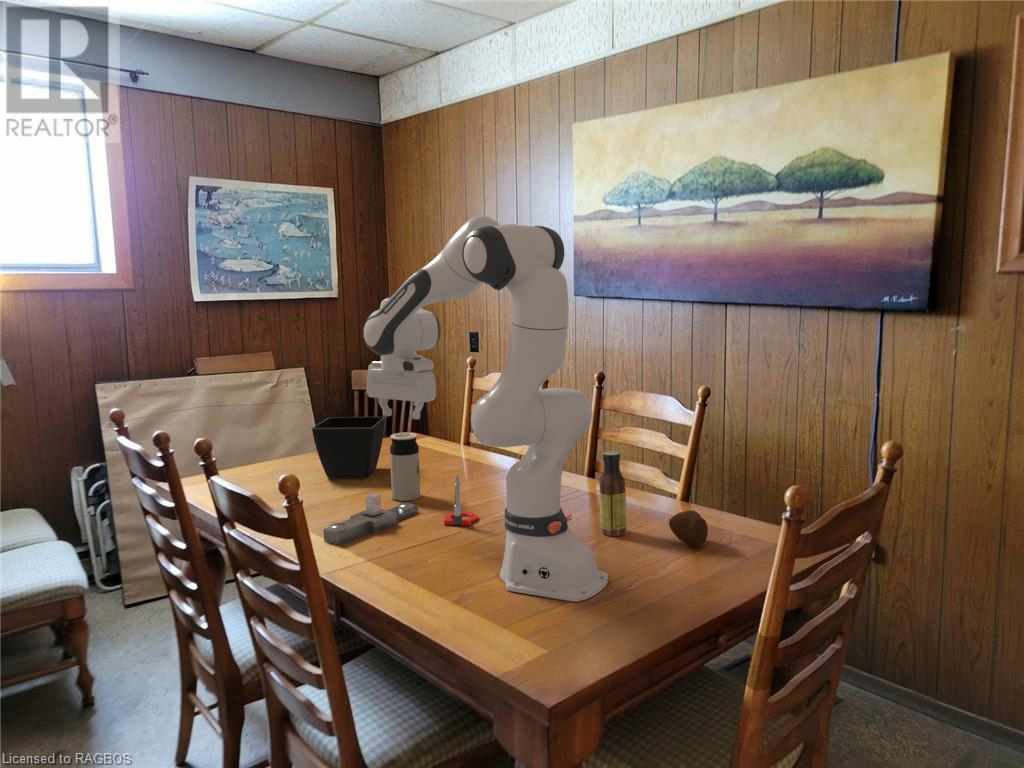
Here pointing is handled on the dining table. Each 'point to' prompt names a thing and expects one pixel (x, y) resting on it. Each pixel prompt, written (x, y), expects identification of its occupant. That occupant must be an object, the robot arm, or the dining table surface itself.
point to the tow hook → (459, 511)
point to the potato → (689, 527)
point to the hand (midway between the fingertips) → (401, 417)
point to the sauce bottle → (612, 496)
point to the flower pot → (349, 445)
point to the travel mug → (405, 467)
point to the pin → (373, 505)
